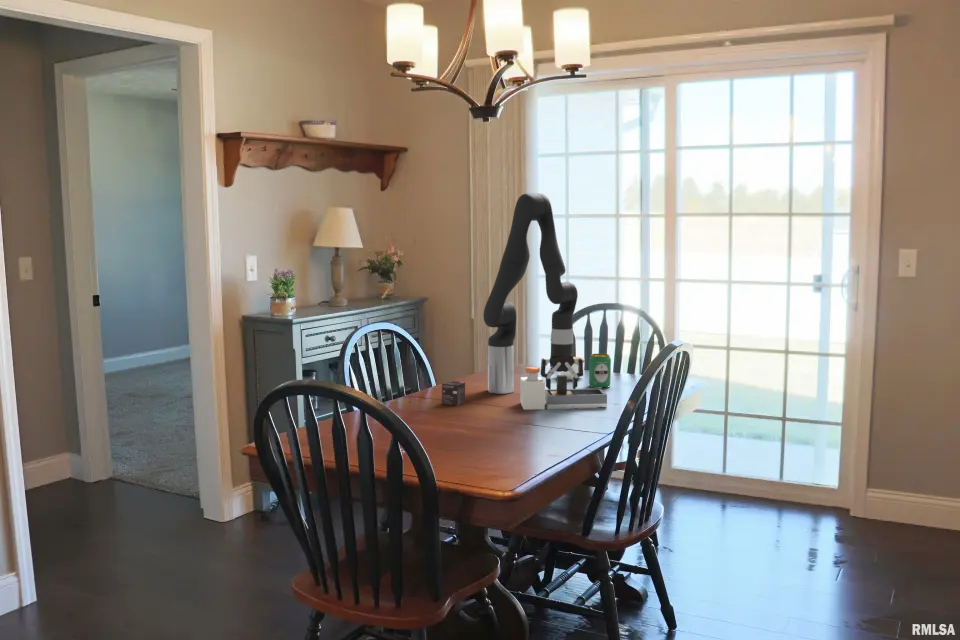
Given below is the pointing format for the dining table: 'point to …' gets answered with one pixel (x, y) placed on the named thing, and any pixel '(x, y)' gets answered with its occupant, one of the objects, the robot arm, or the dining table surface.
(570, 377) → the lidded jar
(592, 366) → the beverage can
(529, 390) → the white boxy piece
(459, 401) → the box
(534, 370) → the button
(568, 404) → the gray rectangular tray
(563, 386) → the carriage
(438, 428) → the dining table surface
